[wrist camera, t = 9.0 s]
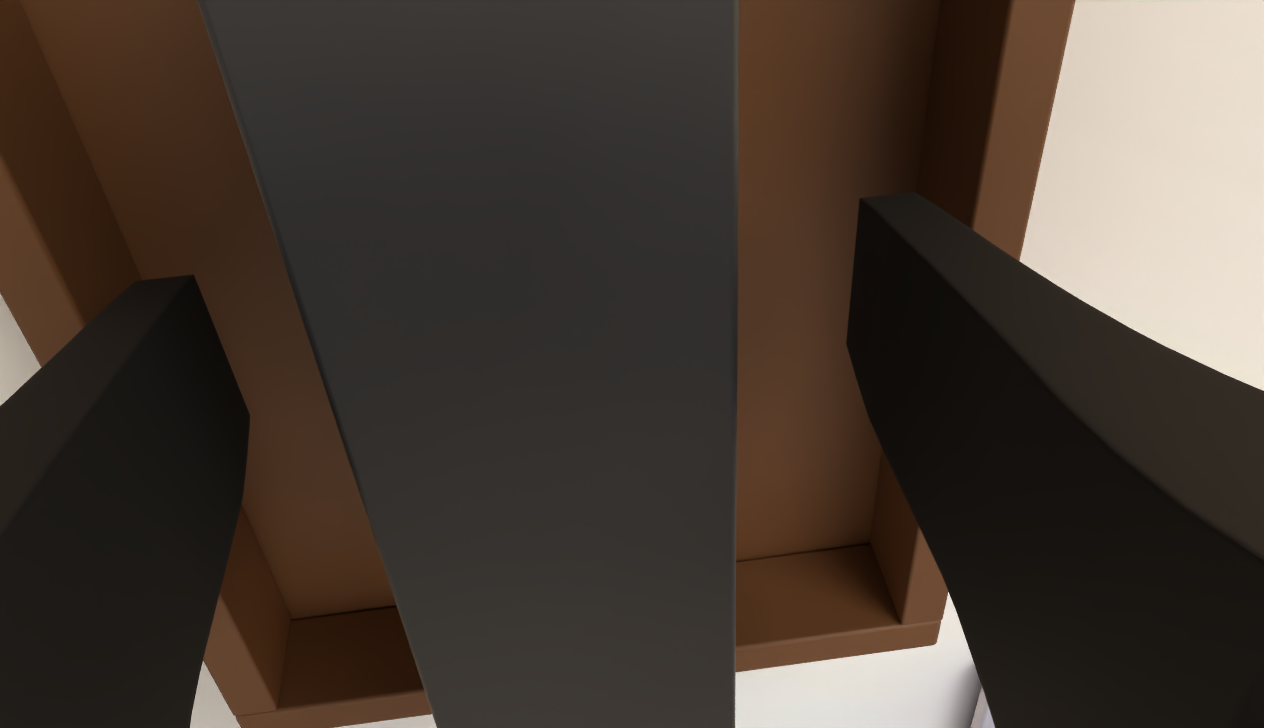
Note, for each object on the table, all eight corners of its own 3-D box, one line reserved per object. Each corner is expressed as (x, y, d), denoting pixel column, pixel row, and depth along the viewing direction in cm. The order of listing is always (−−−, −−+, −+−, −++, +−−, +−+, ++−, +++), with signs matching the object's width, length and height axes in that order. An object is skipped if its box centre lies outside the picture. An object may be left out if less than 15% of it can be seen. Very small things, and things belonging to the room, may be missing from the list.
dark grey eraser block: (689, 502, 17) (751, 791, 14) (456, 532, 17) (453, 834, 13) (656, -396, 10) (780, -312, 6) (232, -361, 9) (68, -249, 6)
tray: (895, 541, 19) (937, 646, 18) (266, 624, 19) (246, 741, 17) (1096, -750, 9) (1251, -806, 7) (-330, -652, 8) (-546, -686, 6)
